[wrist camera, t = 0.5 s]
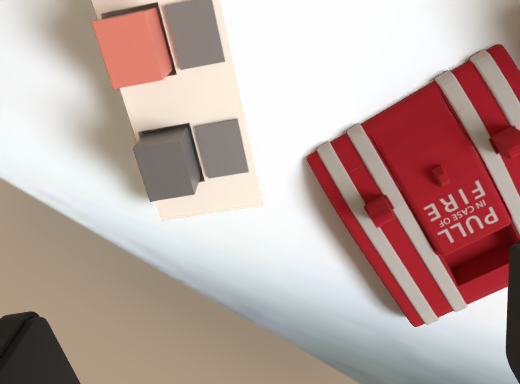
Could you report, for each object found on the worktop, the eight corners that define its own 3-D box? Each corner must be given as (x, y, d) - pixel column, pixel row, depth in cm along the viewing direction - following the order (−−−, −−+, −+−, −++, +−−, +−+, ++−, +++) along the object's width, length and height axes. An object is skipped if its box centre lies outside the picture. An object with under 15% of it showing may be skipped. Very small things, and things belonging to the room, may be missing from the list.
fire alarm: (538, 52, 28) (627, 278, 35) (496, 38, 33) (581, 238, 41) (308, 183, 32) (429, 362, 40) (303, 152, 38) (411, 315, 45)
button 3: (144, 132, 33) (132, 148, 31) (187, 125, 33) (179, 140, 30) (160, 182, 35) (150, 201, 32) (201, 175, 35) (194, 194, 32)
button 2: (109, 16, 30) (91, 22, 27) (156, 7, 30) (143, 11, 27) (127, 77, 32) (113, 89, 29) (172, 69, 31) (162, 80, 29)
